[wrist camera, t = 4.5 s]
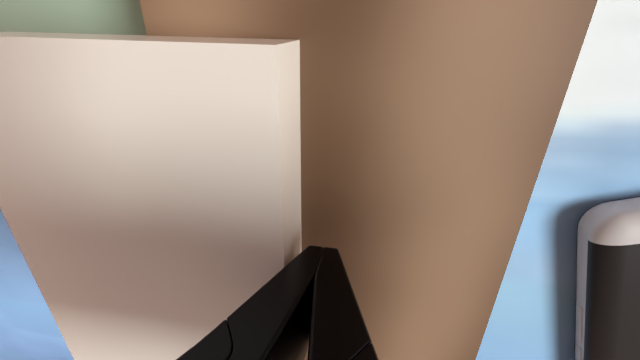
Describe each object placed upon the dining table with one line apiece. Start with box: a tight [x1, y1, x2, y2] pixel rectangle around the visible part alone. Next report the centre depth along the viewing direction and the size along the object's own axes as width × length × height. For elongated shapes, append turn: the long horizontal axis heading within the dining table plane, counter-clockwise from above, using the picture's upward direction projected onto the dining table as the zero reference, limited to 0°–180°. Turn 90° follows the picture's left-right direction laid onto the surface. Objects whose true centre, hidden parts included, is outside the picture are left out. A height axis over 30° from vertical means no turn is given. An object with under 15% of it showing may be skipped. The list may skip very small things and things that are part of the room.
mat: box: [0, 0, 147, 35], centre depth 14 cm, size 12×20×1 cm, turn 179°
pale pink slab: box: [0, 32, 302, 360], centre depth 10 cm, size 11×8×2 cm
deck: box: [140, 0, 597, 360], centre depth 11 cm, size 10×20×3 cm, turn 179°
